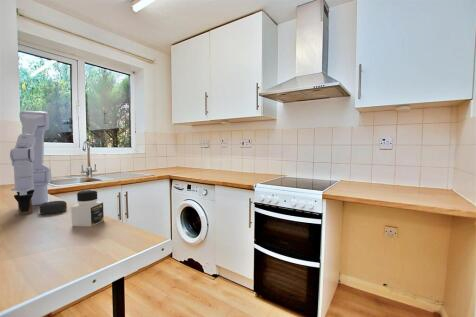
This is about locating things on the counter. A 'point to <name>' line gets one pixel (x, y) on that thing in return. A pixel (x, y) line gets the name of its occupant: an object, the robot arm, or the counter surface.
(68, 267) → the counter surface
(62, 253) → the counter surface
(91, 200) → the medicine bottle
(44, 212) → the smart speaker
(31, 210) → the walnut block
